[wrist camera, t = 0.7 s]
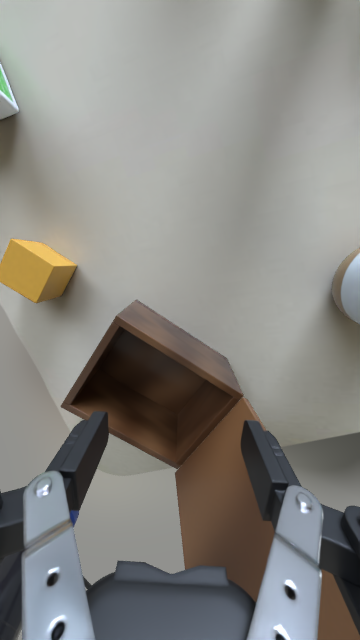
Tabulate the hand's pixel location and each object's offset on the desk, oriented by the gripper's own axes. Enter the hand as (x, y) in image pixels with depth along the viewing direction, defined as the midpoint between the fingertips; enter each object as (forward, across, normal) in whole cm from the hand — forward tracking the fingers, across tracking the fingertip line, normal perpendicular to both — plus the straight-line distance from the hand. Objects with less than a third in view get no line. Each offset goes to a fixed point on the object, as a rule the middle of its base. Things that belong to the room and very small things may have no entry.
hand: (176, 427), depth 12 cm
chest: (+18, -3, -5) cm, 19 cm away
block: (+18, -17, +7) cm, 26 cm away
